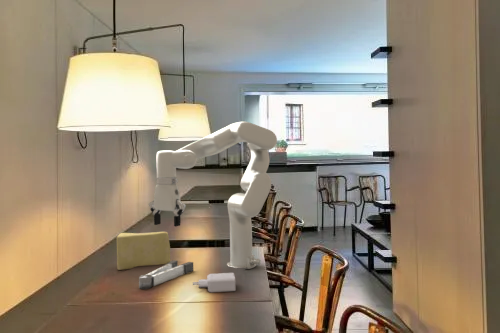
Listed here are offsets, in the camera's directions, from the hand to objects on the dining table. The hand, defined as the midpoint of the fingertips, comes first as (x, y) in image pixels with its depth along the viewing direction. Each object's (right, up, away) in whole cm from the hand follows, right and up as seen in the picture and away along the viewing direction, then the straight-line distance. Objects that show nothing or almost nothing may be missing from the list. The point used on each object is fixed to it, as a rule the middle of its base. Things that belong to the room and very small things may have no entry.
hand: (167, 225), depth 166 cm
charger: (+20, -21, -14) cm, 32 cm away
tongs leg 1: (-2, -20, -1) cm, 20 cm away
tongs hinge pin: (-5, -20, -15) cm, 26 cm away
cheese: (-13, -21, +19) cm, 31 cm away
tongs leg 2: (+3, -20, -4) cm, 20 cm away
